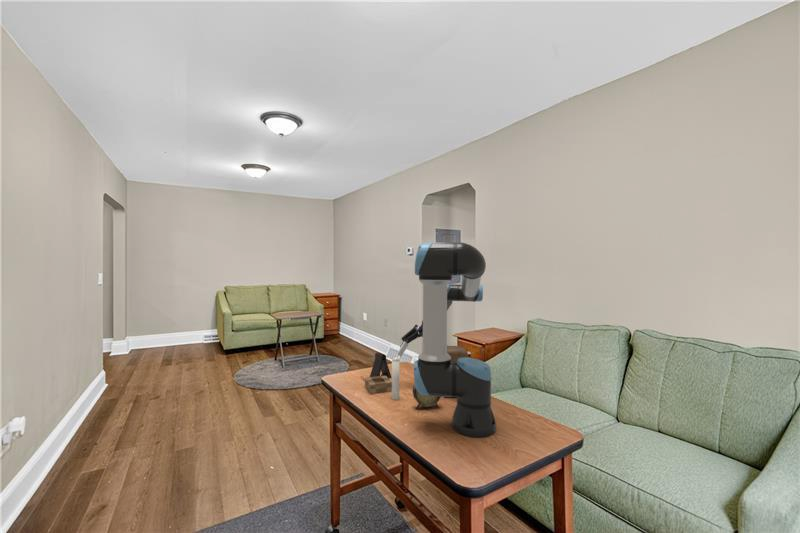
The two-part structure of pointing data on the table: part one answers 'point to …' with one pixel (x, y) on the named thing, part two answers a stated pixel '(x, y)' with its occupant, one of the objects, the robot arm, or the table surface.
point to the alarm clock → (425, 398)
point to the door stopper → (380, 366)
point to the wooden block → (456, 353)
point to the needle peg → (395, 378)
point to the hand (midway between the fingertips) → (409, 358)
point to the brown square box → (378, 384)
